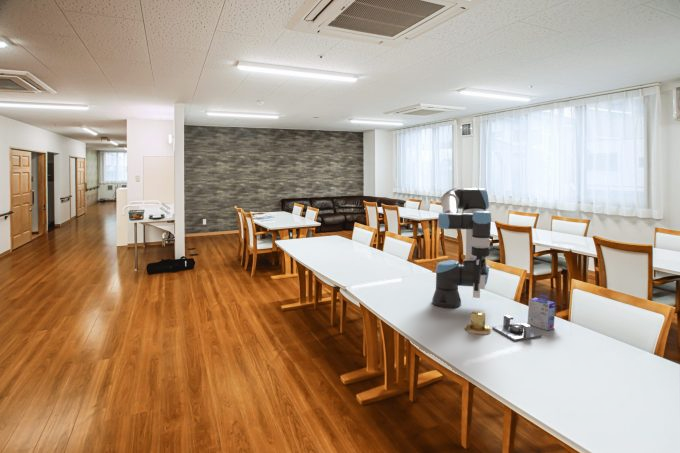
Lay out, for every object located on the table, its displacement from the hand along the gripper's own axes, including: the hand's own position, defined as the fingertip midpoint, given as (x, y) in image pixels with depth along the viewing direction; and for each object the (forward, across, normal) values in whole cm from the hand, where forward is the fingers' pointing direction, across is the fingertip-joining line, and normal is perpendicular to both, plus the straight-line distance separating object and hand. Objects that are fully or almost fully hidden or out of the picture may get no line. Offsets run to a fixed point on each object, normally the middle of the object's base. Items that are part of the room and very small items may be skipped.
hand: (479, 293), depth 171 cm
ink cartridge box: (+18, +17, -25) cm, 35 cm away
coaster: (+17, -1, 0) cm, 17 cm away
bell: (+16, -1, 0) cm, 17 cm away
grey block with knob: (+17, +4, -16) cm, 23 cm away
